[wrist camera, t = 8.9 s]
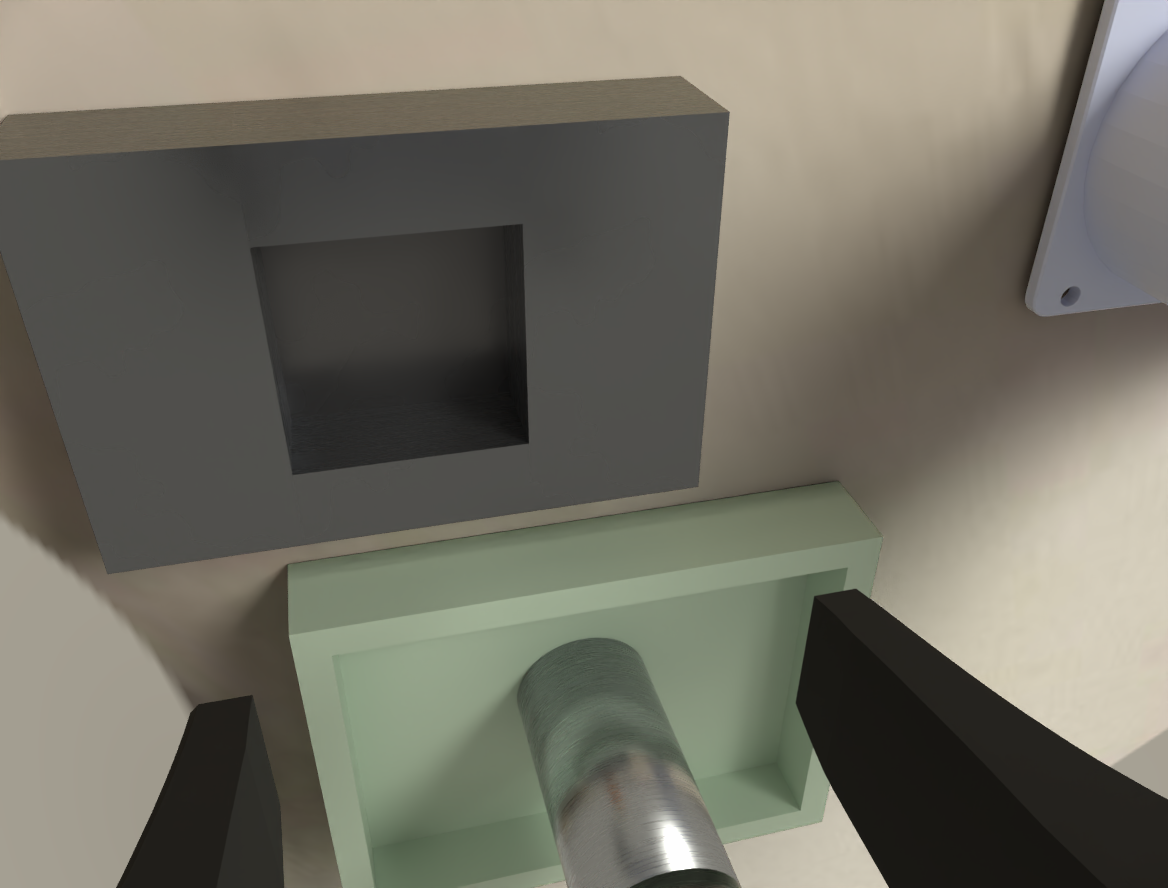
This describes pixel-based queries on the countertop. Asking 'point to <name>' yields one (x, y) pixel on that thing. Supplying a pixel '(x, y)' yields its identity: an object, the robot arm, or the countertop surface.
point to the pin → (616, 774)
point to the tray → (537, 626)
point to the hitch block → (367, 306)
